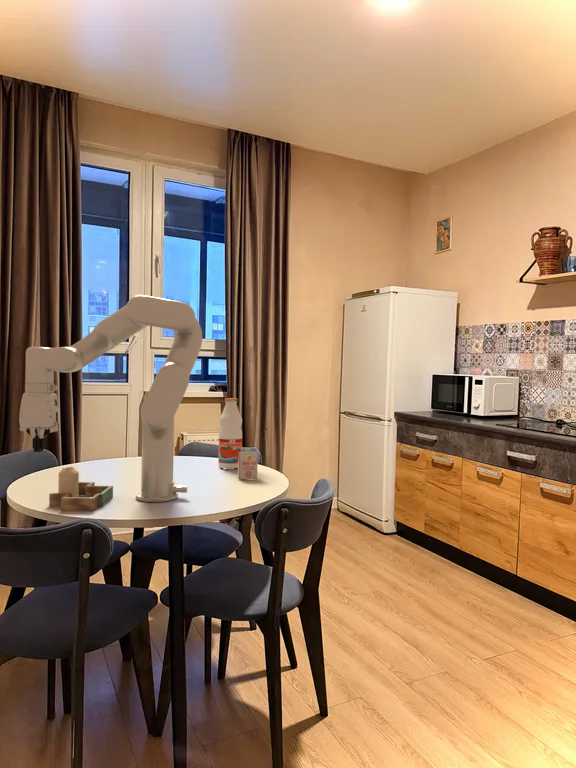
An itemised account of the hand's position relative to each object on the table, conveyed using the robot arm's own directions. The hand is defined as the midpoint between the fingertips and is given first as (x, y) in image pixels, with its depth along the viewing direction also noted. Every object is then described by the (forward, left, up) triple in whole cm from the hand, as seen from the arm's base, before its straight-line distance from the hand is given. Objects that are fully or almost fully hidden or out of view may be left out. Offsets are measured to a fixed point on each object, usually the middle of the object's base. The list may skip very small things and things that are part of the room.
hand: (38, 451), depth 159 cm
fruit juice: (-54, -56, -15) cm, 79 cm away
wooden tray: (-13, 0, -15) cm, 19 cm away
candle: (-9, 0, -15) cm, 17 cm away
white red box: (-61, -34, -15) cm, 72 cm away
